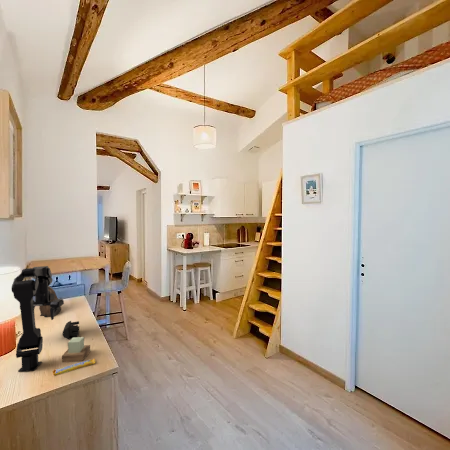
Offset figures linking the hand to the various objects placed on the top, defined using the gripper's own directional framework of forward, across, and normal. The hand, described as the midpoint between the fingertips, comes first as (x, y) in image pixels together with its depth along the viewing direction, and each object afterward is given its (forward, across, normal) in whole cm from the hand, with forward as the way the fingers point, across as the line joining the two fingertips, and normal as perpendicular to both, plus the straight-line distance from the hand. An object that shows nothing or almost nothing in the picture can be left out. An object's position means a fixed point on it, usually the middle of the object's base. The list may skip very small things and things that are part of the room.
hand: (43, 320), depth 139 cm
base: (+12, -22, +15) cm, 30 cm away
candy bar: (+13, -26, +25) cm, 38 cm away
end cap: (+13, -10, -8) cm, 18 cm away
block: (+9, -22, +15) cm, 28 cm away
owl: (+13, +18, -43) cm, 48 cm away
